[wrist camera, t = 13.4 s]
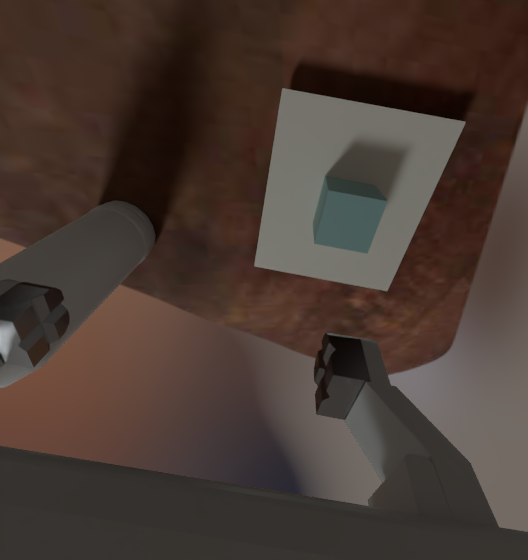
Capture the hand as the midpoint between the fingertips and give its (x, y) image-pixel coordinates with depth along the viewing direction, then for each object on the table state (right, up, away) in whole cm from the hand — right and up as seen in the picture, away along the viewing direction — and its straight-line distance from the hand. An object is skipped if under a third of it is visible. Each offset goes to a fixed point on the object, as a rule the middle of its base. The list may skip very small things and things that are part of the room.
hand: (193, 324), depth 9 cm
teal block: (+10, +9, +21) cm, 25 cm away
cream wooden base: (+11, +11, +24) cm, 28 cm away
